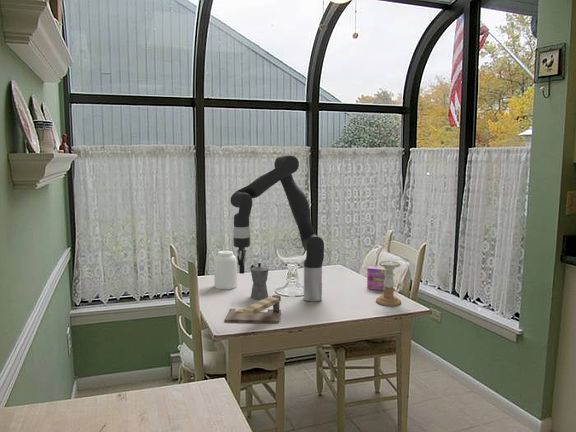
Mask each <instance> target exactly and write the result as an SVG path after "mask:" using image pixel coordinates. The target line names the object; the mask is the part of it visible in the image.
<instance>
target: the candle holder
mask: <svg viewBox="0 0 576 432" xmlns="http://www.w3.org/2000/svg"><path fill="white" fill-rule="evenodd" d="M378 265H379V267H384V268H385V269H386V273H385V274H384V275H385V280H384V283H383V285H384V286H385V287H384V288H383V290H382V291H383V294H382V295H380V296H378V297H376V299H375V302H376V303H377V304H378V305H381V306H386V307H396V306H400V305H401V303H402V301H401V299H400V298H398V297H397V296H395V295H394V292H395V291H396V290H395V280H394V277H395V274H394V270H395V269H396V268H400V266H401V263H400V262H398V261H394V260H393V261H392V260H383V261H379V264H378Z"/></svg>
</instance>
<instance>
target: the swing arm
mask: <svg viewBox="0 0 576 432" xmlns="http://www.w3.org/2000/svg"><path fill="white" fill-rule="evenodd" d="M279 301H280V302H281V301H282V300H281V295H279V294H273V295H272V296H268V297H267V298H265V299H261V300H259V301H256V302H254V303H252V304H250V305H248V306H246V307H243V308H242V309H243V313H244V314H249V315H254V314H256V313H258V312H260V311H262V310H264V309H268V308H270V307H273V305H275V304H277V303H279Z"/></svg>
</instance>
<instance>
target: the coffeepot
mask: <svg viewBox="0 0 576 432" xmlns="http://www.w3.org/2000/svg"><path fill="white" fill-rule="evenodd" d="M257 265H258V266H257ZM257 265H255V264H251V266H250V272H251V273H250V274H251V280H252V287H251V292H250V293H251V294H250V298H252V299H253V300H259V301H261V300H263V299H265V298H267V297H269V292H268V288H267V281H268V274H269V268H268V267H266V266H262V263H261V262H258V263H257Z"/></svg>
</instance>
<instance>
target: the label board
mask: <svg viewBox="0 0 576 432" xmlns="http://www.w3.org/2000/svg"><path fill="white" fill-rule="evenodd" d="M280 303H281V301H279V303H277V304H275V305H272V309H270V308H269V309H268V308H266V309H264V310H262V311H260V312H258V313H256V314H254V315H249V314H244V313H243V308H229V310H228V312H227V313H226V314H227V315H226V316H225V318H224V323H251V324H279V323H280V320H281V315H282V314H281V312H282V309H280Z"/></svg>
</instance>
